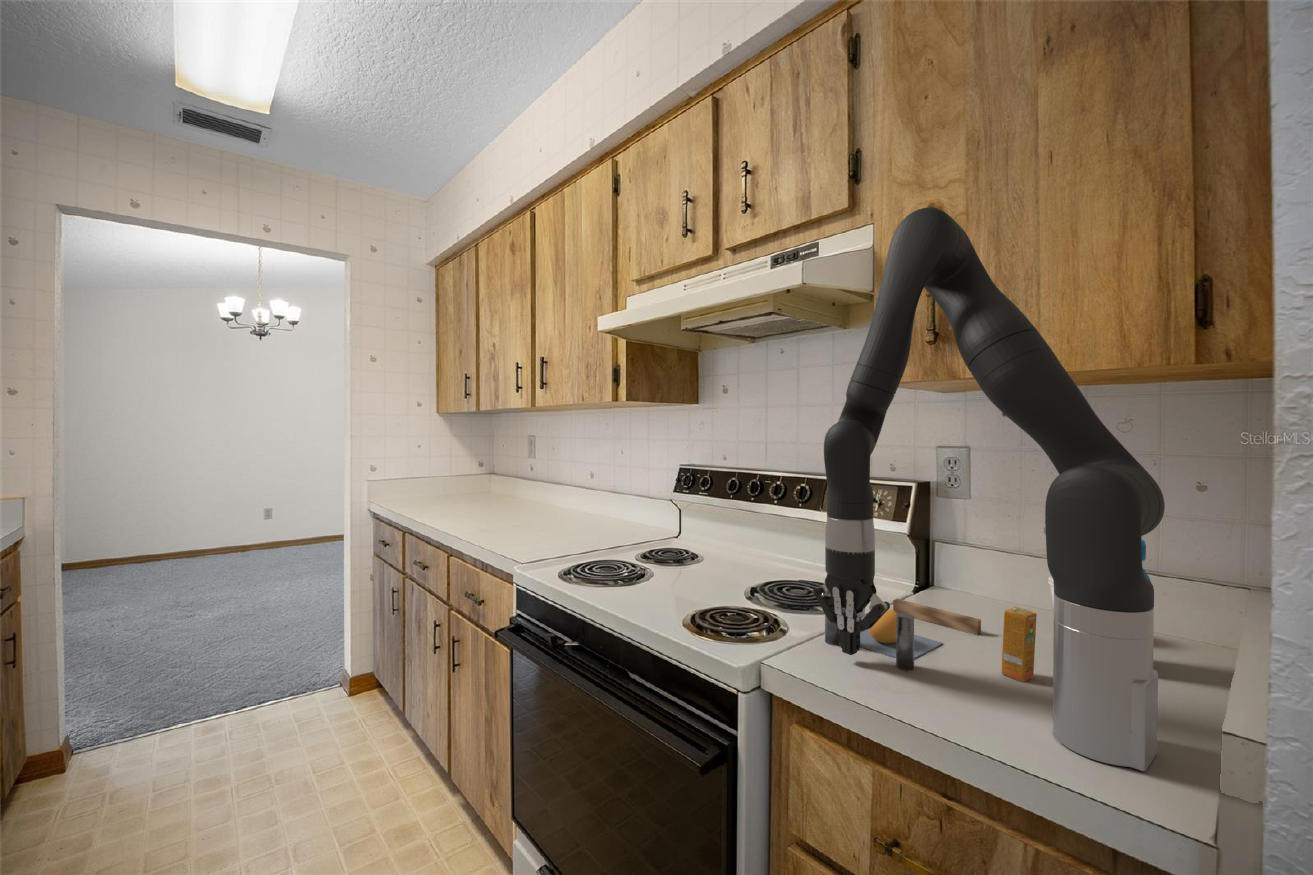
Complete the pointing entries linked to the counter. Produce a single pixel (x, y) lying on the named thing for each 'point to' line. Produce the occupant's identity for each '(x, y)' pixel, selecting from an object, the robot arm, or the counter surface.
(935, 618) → the wall
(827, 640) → the post outer
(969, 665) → the counter surface
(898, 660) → the post inner
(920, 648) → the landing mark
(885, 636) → the ball
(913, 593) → the counter surface
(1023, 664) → the supplement box
